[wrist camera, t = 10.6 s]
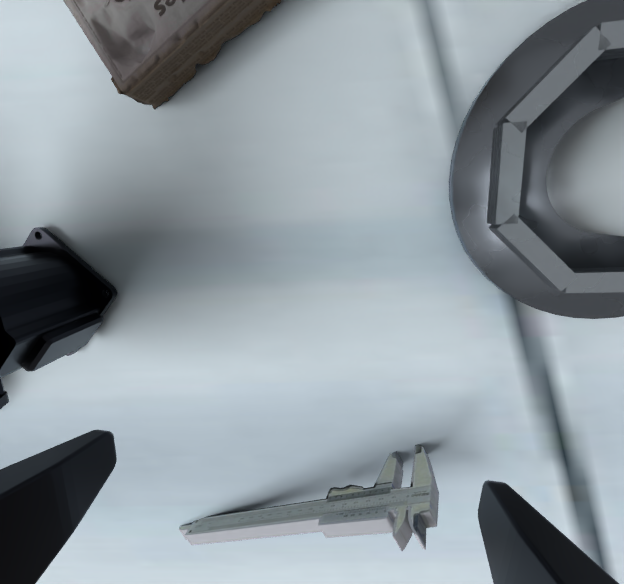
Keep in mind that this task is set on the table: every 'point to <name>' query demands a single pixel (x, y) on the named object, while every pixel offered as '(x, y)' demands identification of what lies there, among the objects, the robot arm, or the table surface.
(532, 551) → the robot arm
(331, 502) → the caliper
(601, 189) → the capped white cylinder
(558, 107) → the collar
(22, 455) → the table surface
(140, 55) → the box
